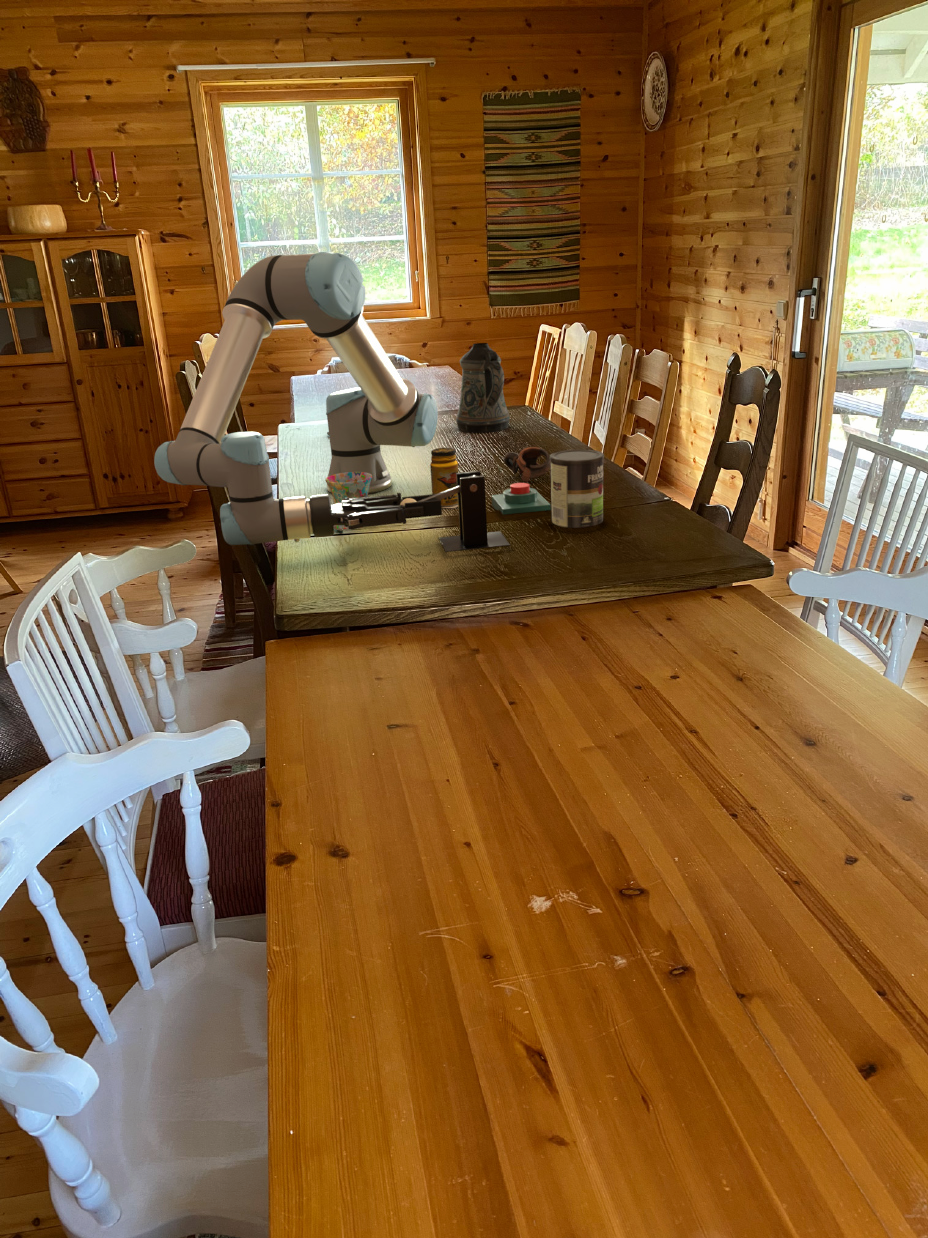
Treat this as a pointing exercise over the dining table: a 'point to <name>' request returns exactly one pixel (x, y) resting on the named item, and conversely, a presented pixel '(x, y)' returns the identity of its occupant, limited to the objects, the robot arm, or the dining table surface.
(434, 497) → the lever
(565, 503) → the coffee can
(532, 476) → the pottery mug
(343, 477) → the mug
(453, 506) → the condiment
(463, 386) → the grey ceramic pitcher
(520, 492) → the button
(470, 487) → the bracket
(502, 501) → the button box
